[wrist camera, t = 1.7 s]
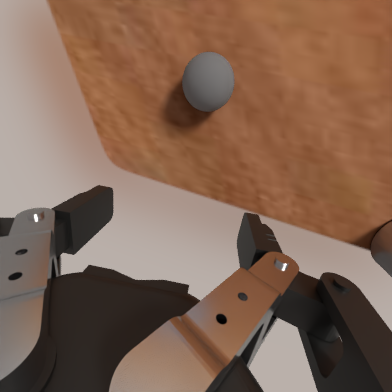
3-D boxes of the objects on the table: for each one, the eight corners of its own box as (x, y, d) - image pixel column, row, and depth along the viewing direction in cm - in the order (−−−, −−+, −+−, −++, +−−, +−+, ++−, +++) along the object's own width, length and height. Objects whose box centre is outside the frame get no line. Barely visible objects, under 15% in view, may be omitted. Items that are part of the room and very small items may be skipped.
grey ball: (239, 99, 24) (245, 94, 19) (198, 120, 25) (193, 120, 20) (221, 50, 22) (222, 30, 17) (178, 75, 24) (167, 63, 19)
